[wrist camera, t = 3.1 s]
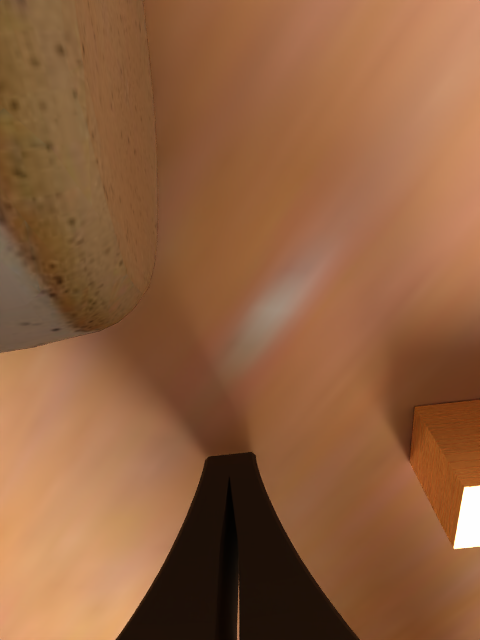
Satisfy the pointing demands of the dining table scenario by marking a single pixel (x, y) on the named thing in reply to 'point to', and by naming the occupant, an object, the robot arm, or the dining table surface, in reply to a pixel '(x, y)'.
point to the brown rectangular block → (450, 466)
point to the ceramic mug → (74, 167)
